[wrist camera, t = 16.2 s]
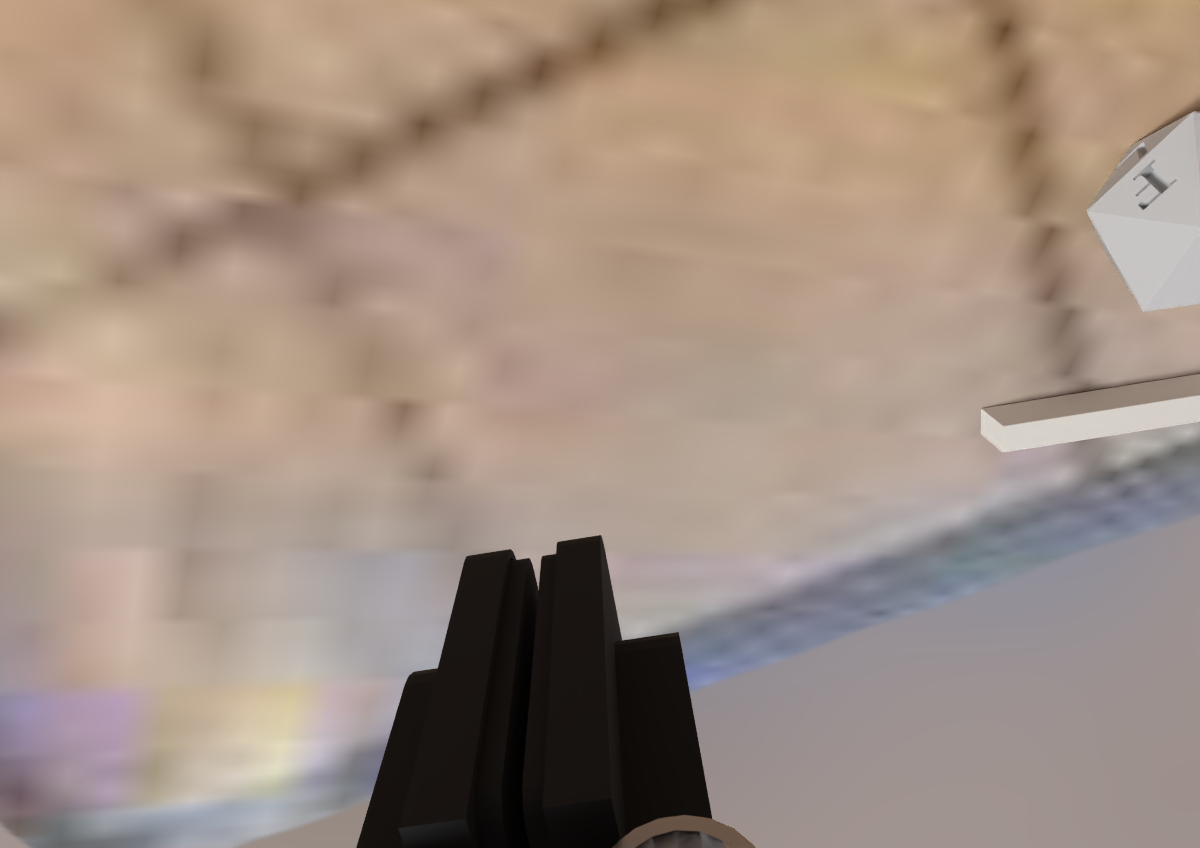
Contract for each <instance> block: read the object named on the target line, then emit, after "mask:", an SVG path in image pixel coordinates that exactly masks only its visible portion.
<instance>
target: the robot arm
mask: <svg viewBox="0 0 1200 848" xmlns="http://www.w3.org/2000/svg"><path fill="white" fill-rule="evenodd" d="M357 848H755V846H754V845H753V844H752V843H750V842H749V841H748V840H747V839H746V838H745V837H743V836H742V835H741V834H740V833H739V832H737V831H736V830H735V829H734V828H732V827H729V826H727V825H724V824H722V823H720V822H717V821H715V820H713V819H712V815H711V809H710V804H709V798H708V793H707V787H706V782H705V776H704V770H703V765H702V759H701V753H700V748H699V742H698V737H697V731H696V726H695V720H694V715H693V709H692V703H691V698H690V692H689V687H688V681H687V676H686V670H685V664H684V659H683V653H682V648H681V642H680V637H679V632H677V633H670V634H663V635H657V636H650V637H643V638H637V639H630V640H623V641H622V638H621V633H620V627H619V622H618V617H617V611H616V606H615V601H614V596H613V590H612V585H611V580H610V575H609V569H608V564H607V559H606V554H605V549H604V544H603V540H602V537H601V535H599V536H593V537H586V538H580V539H573V540H567V541H561V542H557V551H556V554H553V555H546V556H542V559H541V570H540V581H539V591H538V586H537V582H536V578H535V573H534V569H533V565H532V563H531V560H530V559H529V558H527V559H521V560H516V558H515V555H514V553H513V551H512V550H511V549H509V550H503V551H496V552H490V553H484V554H477V555H471V556H467V557H466V559H465V561H464V565H463V569H462V573H461V577H460V581H459V585H458V589H457V594H456V598H455V602H454V606H453V610H452V614H451V618H450V622H449V626H448V630H447V634H446V638H445V642H444V646H443V650H442V654H441V658H440V662H439V666H438V668H437V669H430V670H424V671H417V672H413V673H412V674H411V675H409V677H408V679H407V681H406V683H405V686H404V689H403V693H402V696H401V699H400V703H399V706H398V709H397V713H396V716H395V720H394V723H393V726H392V730H391V733H390V736H389V740H388V743H387V746H386V750H385V753H384V757H383V760H382V763H381V767H380V770H379V773H378V777H377V780H376V784H375V787H374V790H373V794H372V797H371V800H370V804H369V807H368V810H367V814H366V817H365V821H364V824H363V827H362V831H361V834H360V838H359V841H358V844H357Z"/></svg>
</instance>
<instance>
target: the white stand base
mask: <svg viewBox="0 0 1200 848" xmlns="http://www.w3.org/2000/svg"><path fill="white" fill-rule="evenodd" d="M1194 422H1200V374H1195V375H1189V376H1183V377H1176V378H1170V379H1164V380H1158V381H1151V382H1145V383H1139V384H1132V385H1126V386H1120V387H1114V388H1107V389H1101V390H1095V391H1089V392H1082V393H1076V394H1070V395H1063V396H1057V397H1051V398H1045V399H1038V400H1032V401H1026V402H1020V403H1013V404H1007V405H1001V406H994V407H988V408H982V409H981V434H982V435H983V436H984V437H985V438H986V439H988V440H989V441H990V442H991V443H992V444H993V445H995V446H996V447H997V448H998V449H999V450H1000V451H1002V452H1009V451H1016V450H1022V449H1028V448H1035V447H1041V446H1048V445H1054V444H1060V443H1067V442H1073V441H1079V440H1086V439H1092V438H1099V437H1105V436H1111V435H1118V434H1124V433H1130V432H1137V431H1143V430H1150V429H1156V428H1162V427H1169V426H1175V425H1181V424H1188V423H1194Z"/></svg>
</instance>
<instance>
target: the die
mask: <svg viewBox="0 0 1200 848" xmlns="http://www.w3.org/2000/svg"><path fill="white" fill-rule="evenodd" d="M1086 212H1087V214H1088V216H1089V218H1090V220H1091V222H1092V224H1093V227H1094V229H1095V231H1096V233H1097V235H1098V237H1099V239H1100V241H1101V243H1102V246H1103V248H1104V250H1105V252H1106V254H1107V256H1108V257H1109V259H1110V261H1111V262H1112V264H1113V265H1114V267H1115V268H1116V270H1117V271H1118V273H1119V275H1120V276H1121V278H1122V279H1123V281H1124V282H1125V284H1126V285H1127V287H1128V289H1129V290H1130V292H1131V293H1132V295H1133V296H1134V298H1135V299H1136V301H1137V303H1138V304H1139V306H1140V307H1141V309H1142V310H1143V312H1146V311H1153V310H1160V309H1167V308H1174V307H1181V306H1188V305H1195V304H1200V111H1193V112H1191V113H1189V114H1188V115H1186V116H1184V117H1182V118H1180V119H1178V120H1177V121H1175V122H1173V123H1171V124H1169V125H1167V126H1166V127H1164V128H1162V129H1160V130H1158V131H1157V132H1155V133H1153V134H1151V135H1149V136H1147V137H1146V138H1144V139H1142V140H1140V141H1138V142H1136V143H1135V144H1133V145H1131V147H1130V148H1129V150H1128V151H1127V153H1126V154H1125V156H1124V157H1123V159H1122V160H1121V161H1120V163H1119V164H1118V166H1117V168H1116V169H1115V170H1114V172H1113V173H1112V175H1111V176H1110V177H1109V179H1108V180H1107V182H1106V183H1105V185H1104V186H1103V188H1102V189H1101V191H1100V192H1099V194H1098V195H1097V196H1096V198H1095V199H1094V201H1093V202H1092V204H1091V205H1090V207H1089V208H1088V210H1087V211H1086Z"/></svg>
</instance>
